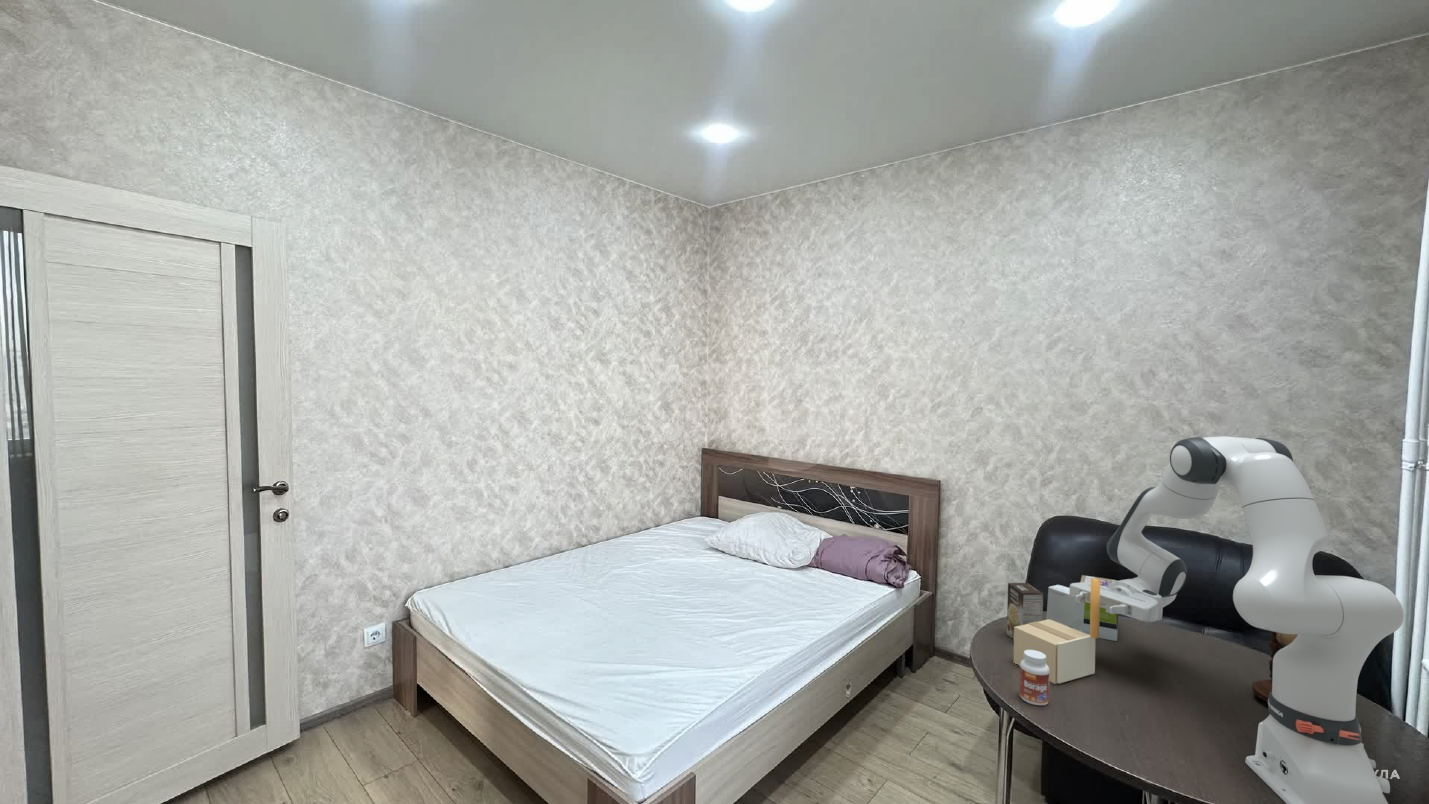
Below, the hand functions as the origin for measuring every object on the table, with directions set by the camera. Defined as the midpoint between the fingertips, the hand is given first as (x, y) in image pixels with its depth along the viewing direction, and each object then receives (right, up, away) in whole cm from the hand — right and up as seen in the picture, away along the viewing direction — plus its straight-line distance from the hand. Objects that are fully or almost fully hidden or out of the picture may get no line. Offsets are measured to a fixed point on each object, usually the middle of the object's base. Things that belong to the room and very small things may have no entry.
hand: (1092, 604), depth 148 cm
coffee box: (-6, -19, +22) cm, 30 cm away
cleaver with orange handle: (-5, -19, -2) cm, 19 cm away
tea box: (+22, -19, +30) cm, 42 cm away
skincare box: (+8, -19, +24) cm, 32 cm away
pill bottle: (-21, -19, -11) cm, 31 cm away
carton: (-8, -19, +5) cm, 21 cm away
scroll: (+39, -20, -13) cm, 46 cm away
